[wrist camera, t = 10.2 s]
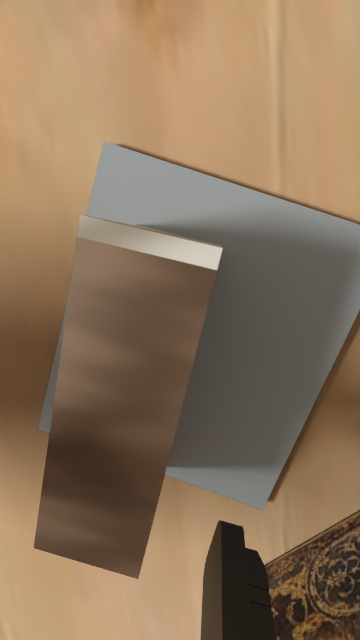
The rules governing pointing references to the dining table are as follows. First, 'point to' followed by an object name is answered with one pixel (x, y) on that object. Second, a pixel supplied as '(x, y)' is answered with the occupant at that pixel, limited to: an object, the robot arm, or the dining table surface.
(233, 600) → the robot arm
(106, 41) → the dining table surface
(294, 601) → the book
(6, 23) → the dining table surface
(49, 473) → the brown rectangular block
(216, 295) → the felt mat
